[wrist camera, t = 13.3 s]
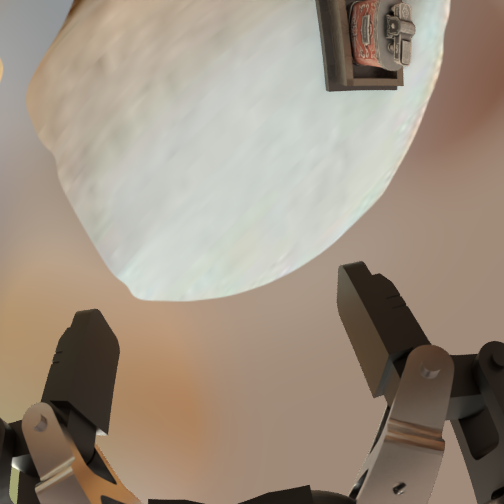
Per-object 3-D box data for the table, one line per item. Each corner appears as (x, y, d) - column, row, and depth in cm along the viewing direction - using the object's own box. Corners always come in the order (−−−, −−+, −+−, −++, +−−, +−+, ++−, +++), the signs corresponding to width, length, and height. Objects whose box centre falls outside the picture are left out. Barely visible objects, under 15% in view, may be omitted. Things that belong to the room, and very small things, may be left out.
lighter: (344, -1, 25) (390, -14, 16) (371, 4, 25) (422, -4, 17) (344, 64, 29) (390, 70, 21) (371, 67, 30) (421, 76, 21)
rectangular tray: (326, 90, 32) (339, 95, 29) (311, -21, 24) (323, -29, 20) (392, 88, 32) (410, 94, 29) (383, -15, 24) (400, -20, 21)
